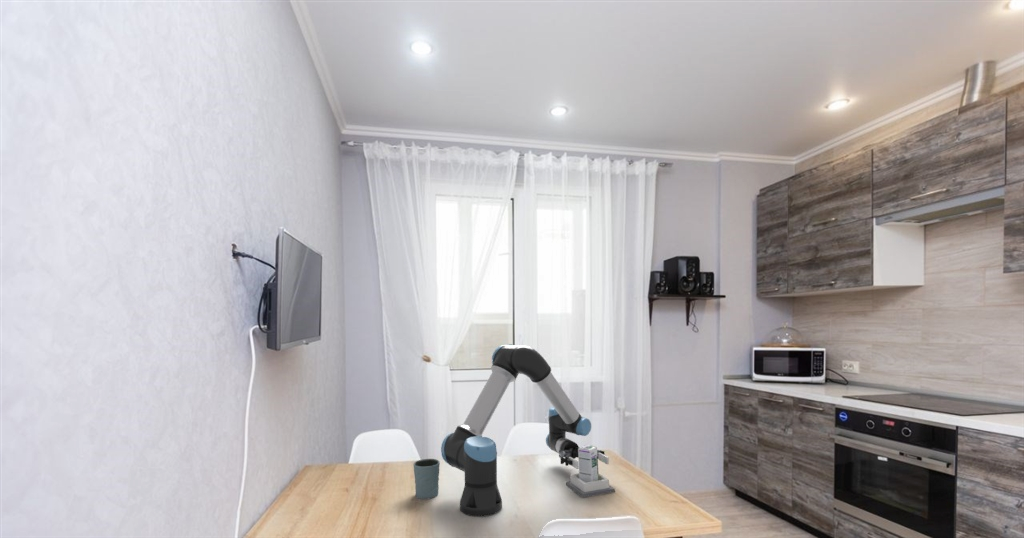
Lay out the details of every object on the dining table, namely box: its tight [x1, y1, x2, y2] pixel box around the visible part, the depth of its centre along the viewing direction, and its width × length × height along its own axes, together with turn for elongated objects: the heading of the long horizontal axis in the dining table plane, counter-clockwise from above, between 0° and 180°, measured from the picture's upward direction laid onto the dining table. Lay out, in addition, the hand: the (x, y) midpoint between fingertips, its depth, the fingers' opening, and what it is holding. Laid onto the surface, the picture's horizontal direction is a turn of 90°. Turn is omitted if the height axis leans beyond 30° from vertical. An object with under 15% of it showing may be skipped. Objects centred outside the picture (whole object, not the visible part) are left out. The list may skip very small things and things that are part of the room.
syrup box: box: [578, 444, 600, 483], centre depth 178 cm, size 6×6×14 cm
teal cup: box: [413, 458, 441, 500], centre depth 174 cm, size 10×10×12 cm
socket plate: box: [565, 473, 616, 498], centre depth 177 cm, size 14×14×4 cm
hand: (593, 463), depth 175 cm, fingers open, 13 cm apart
